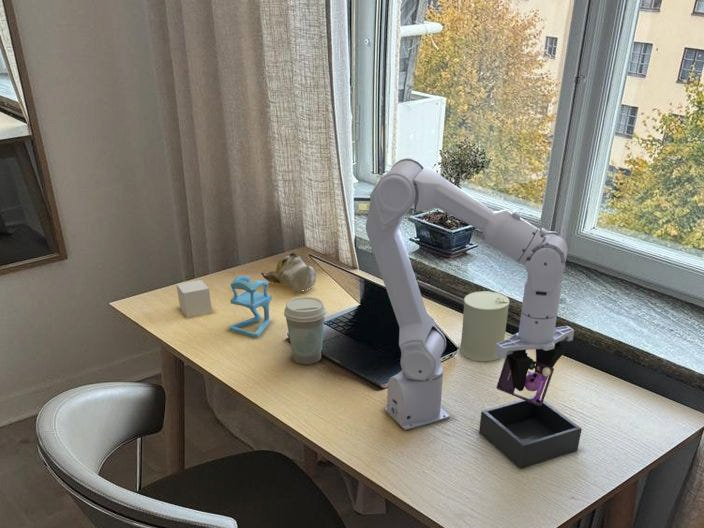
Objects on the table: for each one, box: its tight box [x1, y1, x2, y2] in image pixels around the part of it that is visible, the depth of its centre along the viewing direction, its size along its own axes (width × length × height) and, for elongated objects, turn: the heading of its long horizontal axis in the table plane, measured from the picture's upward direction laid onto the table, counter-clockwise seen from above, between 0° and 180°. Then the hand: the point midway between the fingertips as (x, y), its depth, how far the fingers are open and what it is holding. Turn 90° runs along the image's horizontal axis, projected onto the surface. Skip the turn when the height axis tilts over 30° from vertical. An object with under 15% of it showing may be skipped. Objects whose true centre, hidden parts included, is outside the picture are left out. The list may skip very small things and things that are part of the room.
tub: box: [478, 395, 582, 469], centre depth 134 cm, size 12×12×5 cm
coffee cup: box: [283, 296, 327, 365], centre depth 159 cm, size 8×8×12 cm
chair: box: [228, 275, 273, 339], centre depth 171 cm, size 8×8×12 cm
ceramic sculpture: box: [260, 252, 317, 294], centre depth 191 cm, size 11×9×15 cm
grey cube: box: [176, 279, 213, 319], centre depth 181 cm, size 6×6×6 cm
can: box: [459, 290, 511, 362], centre depth 160 cm, size 9×9×12 cm
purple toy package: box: [495, 358, 555, 406], centre depth 134 cm, size 7×5×9 cm
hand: (528, 385), depth 134 cm, fingers closed on purple toy package, 4 cm apart
